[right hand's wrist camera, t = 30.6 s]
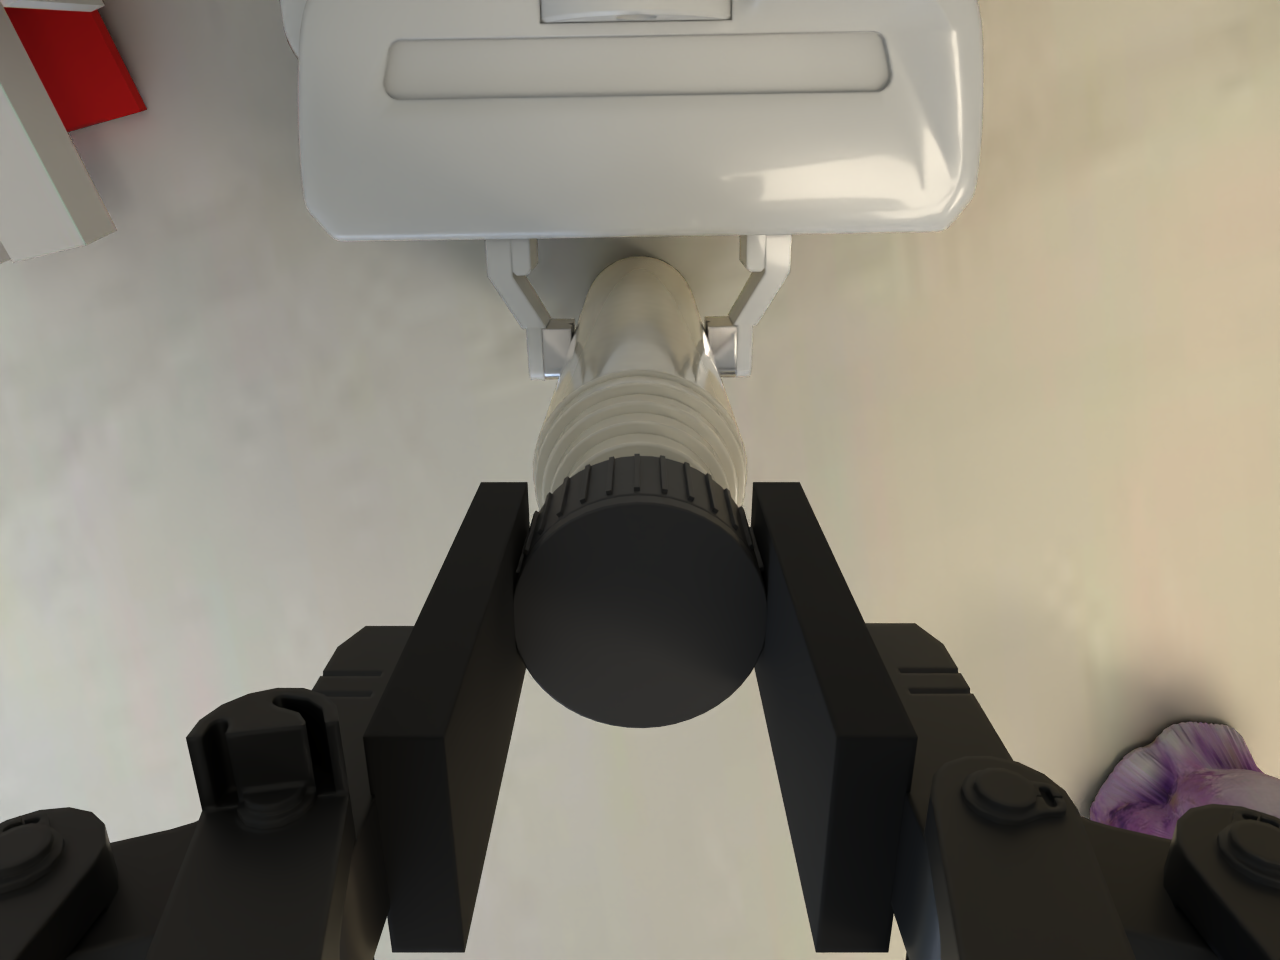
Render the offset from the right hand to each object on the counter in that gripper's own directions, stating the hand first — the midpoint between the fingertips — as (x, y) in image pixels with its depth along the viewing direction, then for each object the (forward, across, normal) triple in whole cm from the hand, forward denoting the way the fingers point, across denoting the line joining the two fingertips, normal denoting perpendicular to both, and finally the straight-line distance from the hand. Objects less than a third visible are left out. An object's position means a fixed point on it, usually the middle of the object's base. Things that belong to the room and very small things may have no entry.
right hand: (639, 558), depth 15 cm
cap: (-2, 0, 0) cm, 2 cm away
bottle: (+23, 0, 0) cm, 23 cm away
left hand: (+16, 0, -1) cm, 16 cm away
